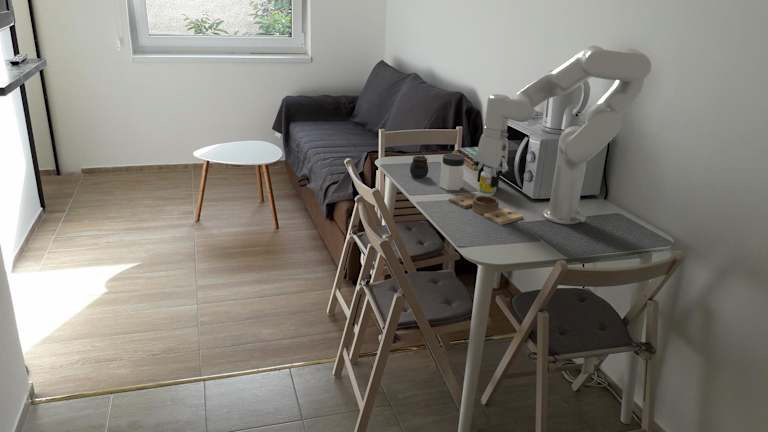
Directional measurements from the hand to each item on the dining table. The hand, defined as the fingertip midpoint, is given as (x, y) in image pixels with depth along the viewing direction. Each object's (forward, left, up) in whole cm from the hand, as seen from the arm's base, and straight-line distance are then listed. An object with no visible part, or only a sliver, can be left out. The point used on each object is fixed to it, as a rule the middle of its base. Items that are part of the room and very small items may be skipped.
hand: (487, 183), depth 217 cm
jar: (+23, -6, -10) cm, 26 cm away
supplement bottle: (0, 0, -4) cm, 4 cm away
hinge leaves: (0, 0, -9) cm, 9 cm away
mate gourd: (+38, -3, -10) cm, 39 cm away
